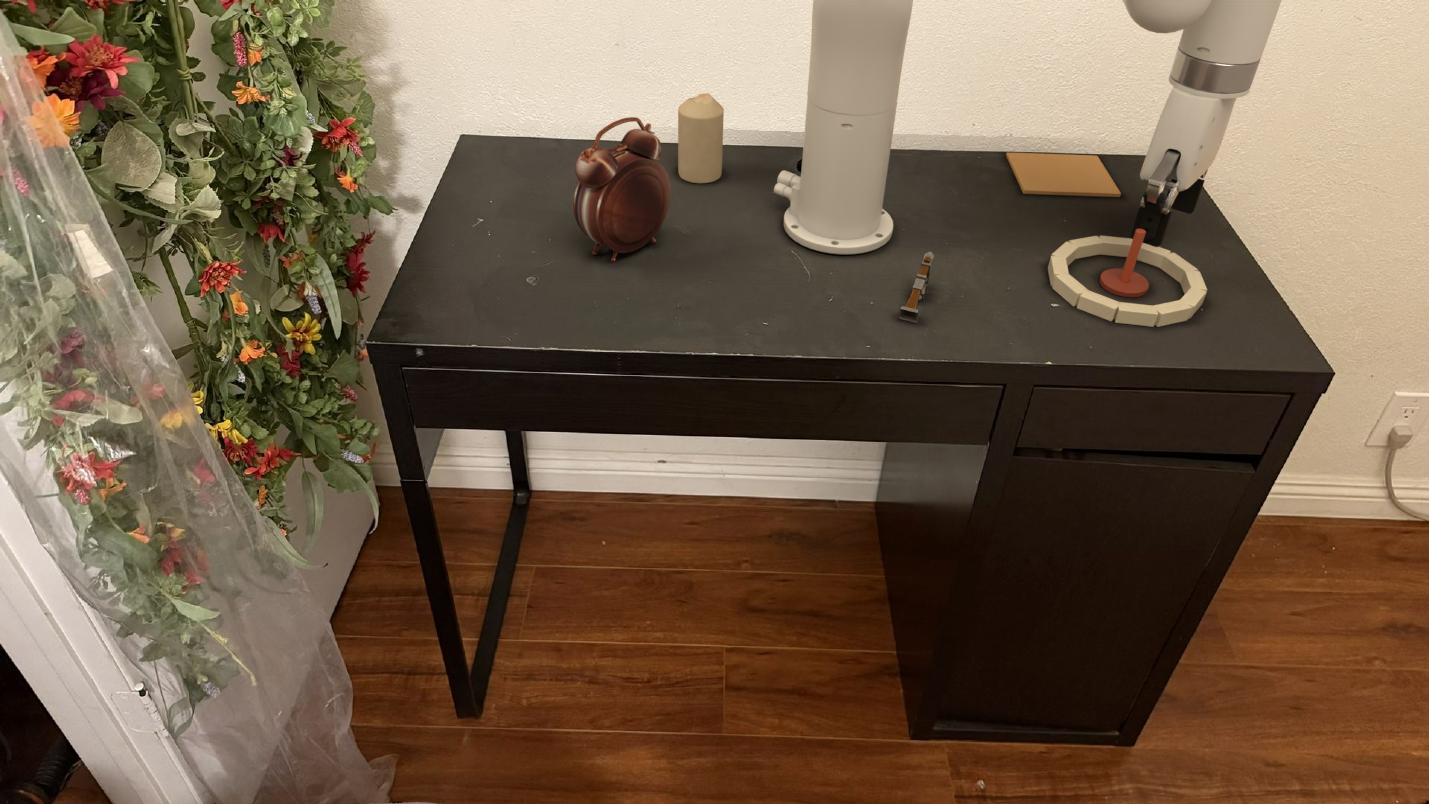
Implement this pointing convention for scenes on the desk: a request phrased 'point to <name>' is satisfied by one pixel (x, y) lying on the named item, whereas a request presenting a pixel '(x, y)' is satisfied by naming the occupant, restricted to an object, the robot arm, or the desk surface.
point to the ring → (1120, 310)
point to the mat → (1062, 175)
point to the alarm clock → (622, 190)
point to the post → (1127, 273)
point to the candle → (700, 139)
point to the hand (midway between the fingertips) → (1162, 225)
